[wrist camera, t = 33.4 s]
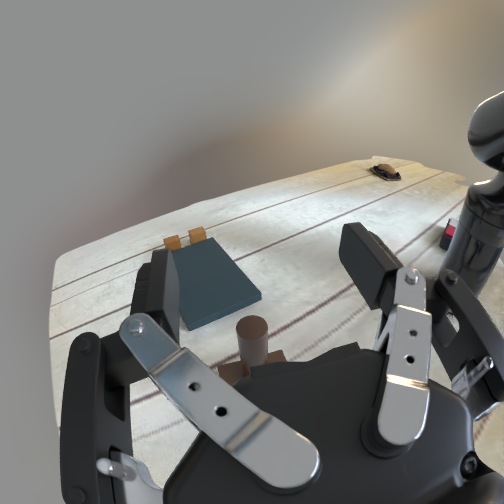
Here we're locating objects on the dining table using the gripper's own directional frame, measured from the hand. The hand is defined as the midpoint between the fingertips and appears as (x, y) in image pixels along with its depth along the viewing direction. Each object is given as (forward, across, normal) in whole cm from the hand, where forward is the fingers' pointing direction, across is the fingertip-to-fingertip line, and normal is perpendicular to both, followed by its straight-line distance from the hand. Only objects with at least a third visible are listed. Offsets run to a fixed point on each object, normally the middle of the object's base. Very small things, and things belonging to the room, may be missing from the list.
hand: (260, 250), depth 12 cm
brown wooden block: (+35, +5, +22) cm, 42 cm away
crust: (+34, +10, +22) cm, 42 cm away
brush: (+5, 0, +24) cm, 24 cm away
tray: (+25, +5, +24) cm, 35 cm away
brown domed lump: (+64, -57, +24) cm, 89 cm away
